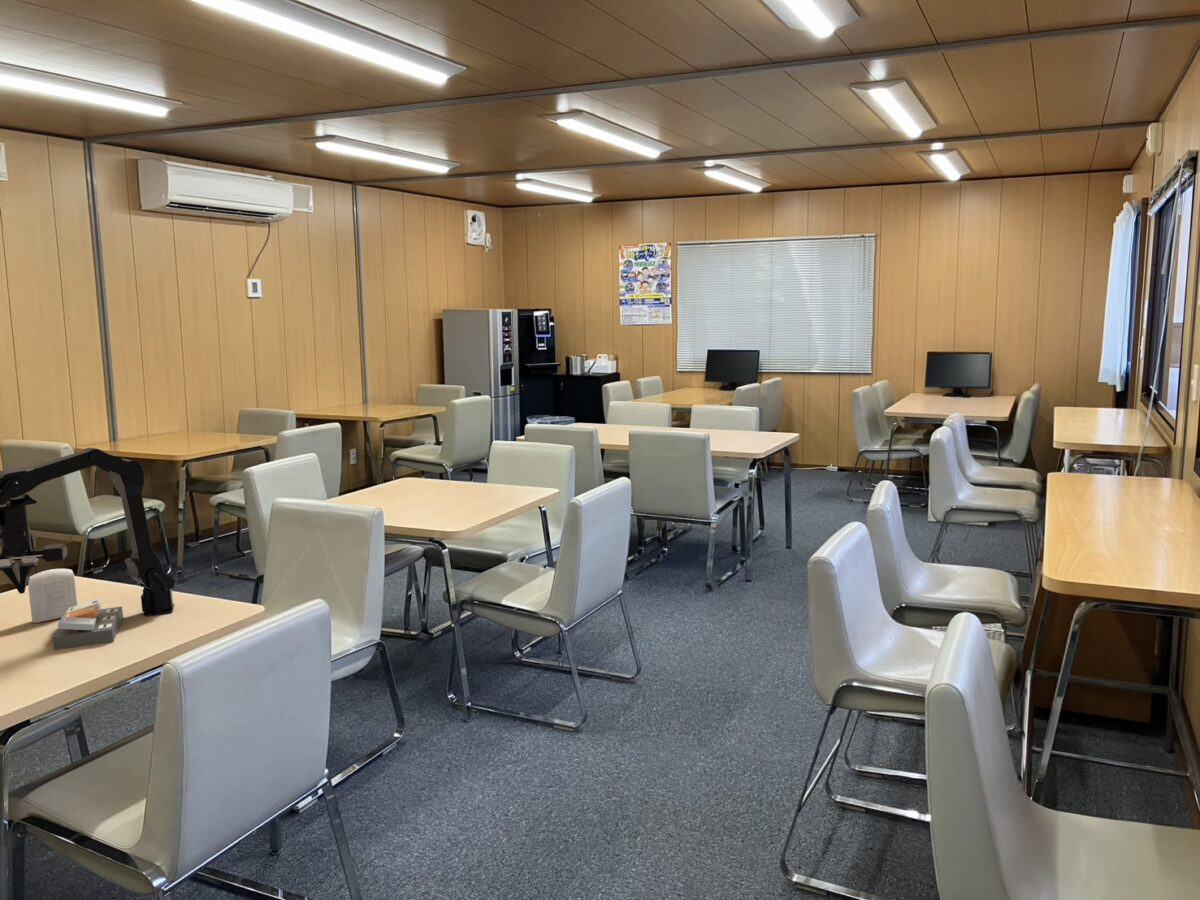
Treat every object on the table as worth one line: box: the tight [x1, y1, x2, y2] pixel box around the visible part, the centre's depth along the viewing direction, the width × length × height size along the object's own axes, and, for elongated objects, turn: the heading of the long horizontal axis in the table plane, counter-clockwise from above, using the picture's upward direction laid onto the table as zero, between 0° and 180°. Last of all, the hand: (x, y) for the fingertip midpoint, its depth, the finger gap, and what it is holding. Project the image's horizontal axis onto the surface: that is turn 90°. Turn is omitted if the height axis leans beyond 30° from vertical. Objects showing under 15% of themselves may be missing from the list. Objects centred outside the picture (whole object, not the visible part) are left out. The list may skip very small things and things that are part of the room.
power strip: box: [51, 606, 124, 651], centre depth 214 cm, size 12×18×4 cm, turn 21°
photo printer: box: [27, 568, 79, 624], centre depth 225 cm, size 10×4×12 cm, turn 135°
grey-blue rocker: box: [57, 617, 96, 630], centre depth 207 cm, size 7×5×2 cm, turn 112°
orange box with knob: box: [64, 606, 99, 618], centre depth 213 cm, size 7×5×2 cm, turn 111°
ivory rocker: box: [66, 597, 103, 614], centre depth 218 cm, size 7×5×2 cm, turn 111°
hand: (22, 593), depth 205 cm, fingers closed
